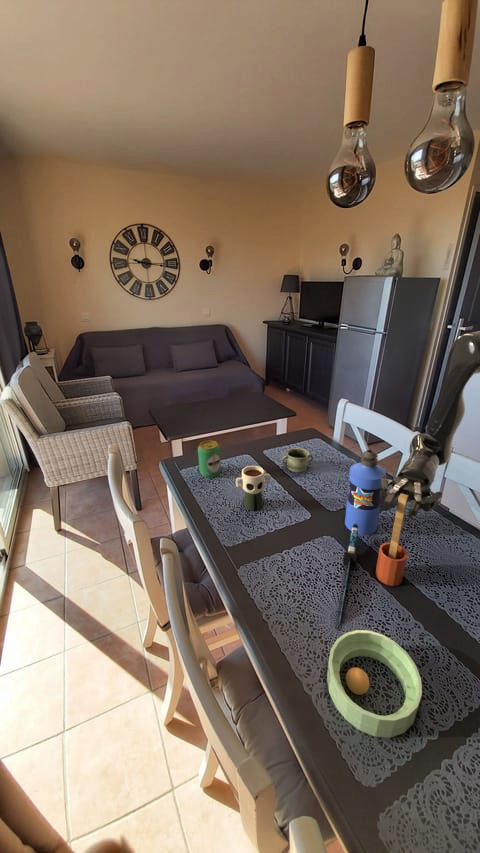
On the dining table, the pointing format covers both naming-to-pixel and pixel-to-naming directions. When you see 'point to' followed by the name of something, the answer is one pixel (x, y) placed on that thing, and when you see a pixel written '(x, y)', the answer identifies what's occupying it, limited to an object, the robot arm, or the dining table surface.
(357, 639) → the green faceted ring
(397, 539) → the stick
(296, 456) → the vessel
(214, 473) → the beverage can
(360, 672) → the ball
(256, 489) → the character mug
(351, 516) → the water bottle
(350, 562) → the knife
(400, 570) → the holder
